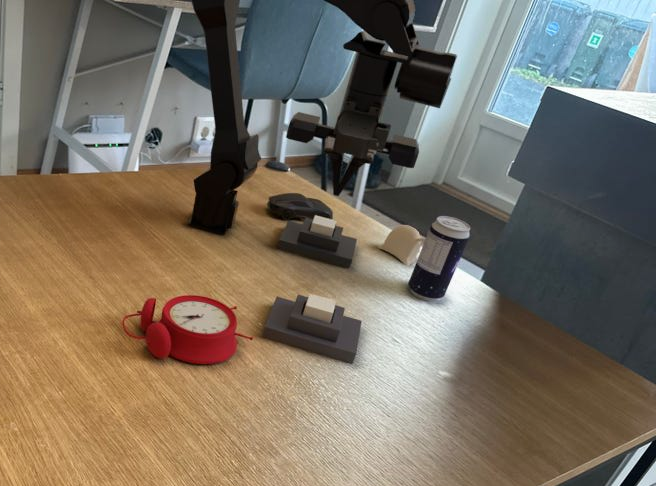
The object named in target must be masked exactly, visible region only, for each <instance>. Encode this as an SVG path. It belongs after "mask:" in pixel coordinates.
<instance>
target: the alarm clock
mask: <svg viewBox="0 0 656 486" xmlns="http://www.w3.org/2000/svg"><path fill="white" fill-rule="evenodd" d="M156 302H157V298H156V297H150V298H147V299H146V300H145V302H144V303H143V306H142V309H141V310H136V313H132V314H127V315H125V316H124V317H123V319H122V323H121V324H122V329H123V331H124V333H126V334H127V335H128V336H129V337H131V338H133V339H137V340H145V342H146V345H147V348H148V351H149V352H150V353H151V355H153V357H156V358H158V359H165V358H167V357H169V356H171V357H173V358H175V359H177V360H180V361H183V362H186V363H191V364H198V365H212V364H213V365H214V364H218V363H222V362H225V361H227V360H229V359H230V358H231V357H232V356H234V354H235V353H236V351H237V347H238V342H239V341H238V339H237V337H239V338H240V337H241V338H244V339H248V340H249V341H253V340H254V337H253V336H248V335H244V334H241V333H238V332H236V330H237V326H238V321H237V320H238V319H237V315H236V313H235V312H234V311H233V310H237V309H238V307H237V306H236V305H234V306H232V307H229V306H228V305H226V304H225V303H223V302H221V301H219V300H218V299H215V298H211V297H209V296H204V295H196V294H185V295H179V296H175V297H172V298H170V299H169V300H168V301H166V302H165V304H164V306H163V307H162V309H161V310H162V311H161V318H160V320H159V321H154V315H155V309H156ZM137 316H138V317H139V316H140V322H139V323H140V329H142V331H144V332H145V337H144V336H137V335H134V334H132V333H130V332H129V331H128V330H127V328H126V324H125V321H126V320H127V319H128V318H131V317H137Z"/></svg>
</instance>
